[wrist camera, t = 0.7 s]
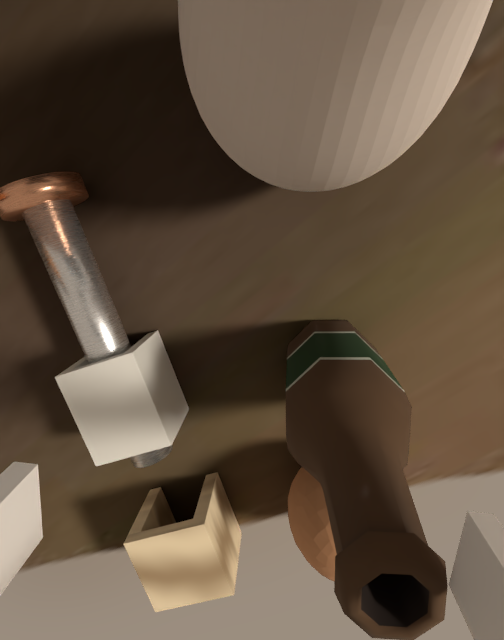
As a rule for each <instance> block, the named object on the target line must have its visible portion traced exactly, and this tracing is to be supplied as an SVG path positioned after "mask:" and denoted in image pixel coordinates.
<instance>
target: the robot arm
mask: <svg viewBox="0 0 504 640" xmlns="http://www.w3.org/2000/svg"><path fill="white" fill-rule="evenodd" d="M42 538H43V533H42V518H41V503H40V488H39V473H38V464H30V463H21V462H13V463H12V464H11V465H10V466H9V467H8V468H7V469H6V470H5V471H4V472H2V473H1V474H0V595H1V594H2V593H3V591H4V590H5V589H6V587H7V586H8V585H9V583H10V582H11V580H12V579H13V578H14V576H15V575H16V574H17V572H18V571H19V569H20V568H21V567H22V565H23V564H24V563H25V561H26V560H27V559H28V557H29V556H30V554H31V553H32V552H33V550H34V549H35V548H36V546H37V545H38V543H39V542H40V541H41V539H42ZM449 586H450V588H451V590H452V593H453V595H454V597H455V599H456V601H457V603H458V605H459V608H460V610H461V612H462V614H463V617H464V619H465V621H466V623H467V626H468V628H469V630H470V632H471V634H472V636H473V639H474V640H504V528H503V526H502V525H501V523H500V522H499V520H498V519H497V518H496V516H495V515H494V514H490V513H482V512H472V511H468V512H467V515H466V519H465V523H464V527H463V531H462V535H461V539H460V543H459V547H458V551H457V555H456V559H455V563H454V567H453V571H452V575H451V578H450V582H449Z"/></svg>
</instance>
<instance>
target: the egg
mask: <svg viewBox="0 0 504 640" xmlns="http://www.w3.org/2000/svg"><path fill="white" fill-rule="evenodd" d="M288 517H289V523H290V528H291V531H292V534H293V537H294V540H295V542H296V545H297V546H298V548H299V549H300V551H301V552H302V554H303V555H304V557H305V558H306V560H307V561H308V562H309V563H310V564H311V566H312V567H313V568H315V569H316V570H317V571H318V572H319V573H320V574H321V575H323V576H325V577H326V578H328V579H329V580H332V581H335V556H336V555H337V553H336V548H335V544H334V539H333V534H332V530H331V525H330V520H329V516H328V511H327V506H326V502H325V497H324V492H323V489H322V487H321V484H320V483H319V482H318V481H317V480H316V479H315V478H314V477H313V476H312V475H311V474H310V473H308V472H307V471H306V470H305V469H304V468H303V467H301V468H300V470H299V471H298V473H297V475H296V476H295V478H294V480H293V482H292V484H291V488H290V492H289V496H288Z"/></svg>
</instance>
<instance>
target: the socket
mask: <svg viewBox="0 0 504 640" xmlns="http://www.w3.org/2000/svg"><path fill="white" fill-rule="evenodd" d="M241 535H242V533H241V530H240V527H239V525H238V522H237V520H236V517H235V515H234V512H233V510H232V507H231V505H230V502H229V500H228V497H227V495H226V492H225V490H224V487H223V485H222V482H221V480H220V477H219V475H218V472H216V473H212V474H208V475H206V477H205V480H204V484H203V487H202V490H201V494H200V497H199V500H198V504H197V507H196V511H195V514H194V517H193V519H190V520H186V521H182V522H178V523H176V521H175V518H174V516H173V514H172V512H171V509H170V507H169V505H168V502H167V500H166V498H165V495H164V493H163V491H162V488H161V487H159V488H155V489H151V490H149V493H148V495H147V497H146V499H145V501H144V503H143V505H142V507H141V509H140V511H139V513H138V515H137V517H136V519H135V521H134V523H133V525H132V527H131V529H130V531H129V533H128V536H127V538H126V540H125V542H124V546H125V548H126V551H127V553H128V555H129V557H130V559H131V561H132V563H133V565H134V568H135V570H136V572H137V574H138V576H139V578H140V580H141V582H142V585H143V587H144V589H145V591H146V593H147V595H148V597H149V599H150V602H151V604H152V606H153V608H154V610H155V612H159V611H163V610H168V609H172V608H177V607H181V606H186V605H190V604H195V603H200V602H204V601H209V600H214V599H218V598H223V597H228V596H232V595H234V591H235V583H236V575H237V567H238V559H239V551H240V542H241Z"/></svg>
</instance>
